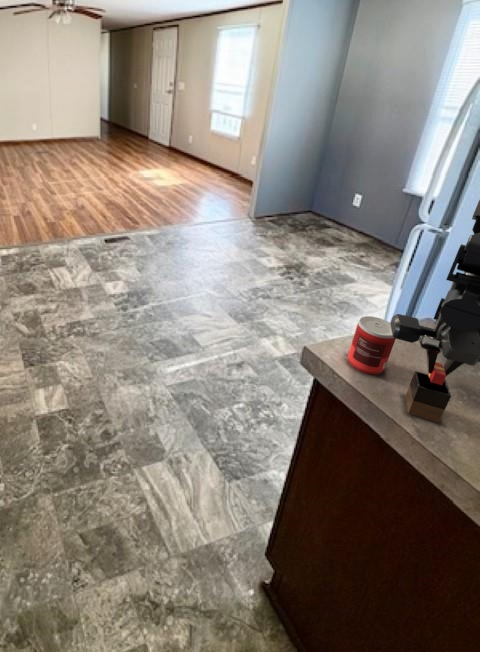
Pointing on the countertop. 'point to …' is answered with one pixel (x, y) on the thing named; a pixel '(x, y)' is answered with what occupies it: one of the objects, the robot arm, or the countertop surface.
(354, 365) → the canned food
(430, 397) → the open brown box
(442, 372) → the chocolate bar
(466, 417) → the countertop surface
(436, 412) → the dark brown cube
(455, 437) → the countertop surface
